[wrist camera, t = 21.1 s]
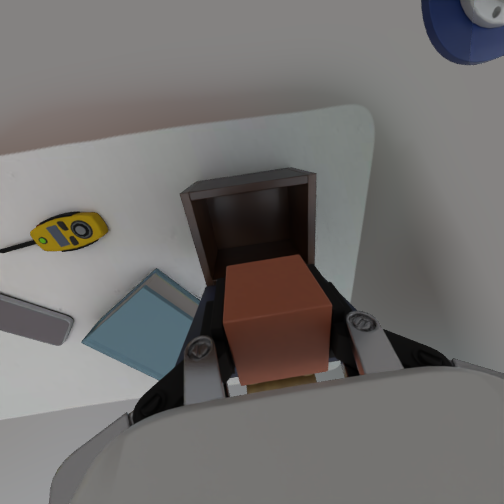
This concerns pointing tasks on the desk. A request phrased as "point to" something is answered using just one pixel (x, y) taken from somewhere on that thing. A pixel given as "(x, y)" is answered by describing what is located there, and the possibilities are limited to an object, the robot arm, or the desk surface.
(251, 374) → the block
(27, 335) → the smartphone
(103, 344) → the book
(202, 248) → the chest
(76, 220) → the yellow plastic handheld
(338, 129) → the desk surface
